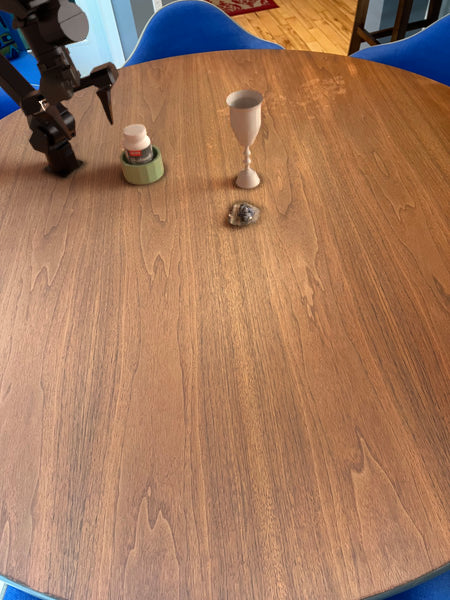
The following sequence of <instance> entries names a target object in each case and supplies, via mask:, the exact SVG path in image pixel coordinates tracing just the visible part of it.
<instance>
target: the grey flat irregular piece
mask: <svg viewBox="0 0 450 600" xmlns="http://www.w3.org/2000/svg"><path fill="white" fill-rule="evenodd" d="M231 210H232V211H230V213H231V214H228V216H229V217H228V219H227V222H228V223H229V224H231V225H233V226H237V225H238V227H243V226H248V225H249V224H252V225H254V224H256V223H258V220H259V219H260V213H261V212H260V209H259V207H256V206H255V205H252V204H250V203H247V202H238V203H235V204H234V205H233V206H232V209H231Z"/></svg>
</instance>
